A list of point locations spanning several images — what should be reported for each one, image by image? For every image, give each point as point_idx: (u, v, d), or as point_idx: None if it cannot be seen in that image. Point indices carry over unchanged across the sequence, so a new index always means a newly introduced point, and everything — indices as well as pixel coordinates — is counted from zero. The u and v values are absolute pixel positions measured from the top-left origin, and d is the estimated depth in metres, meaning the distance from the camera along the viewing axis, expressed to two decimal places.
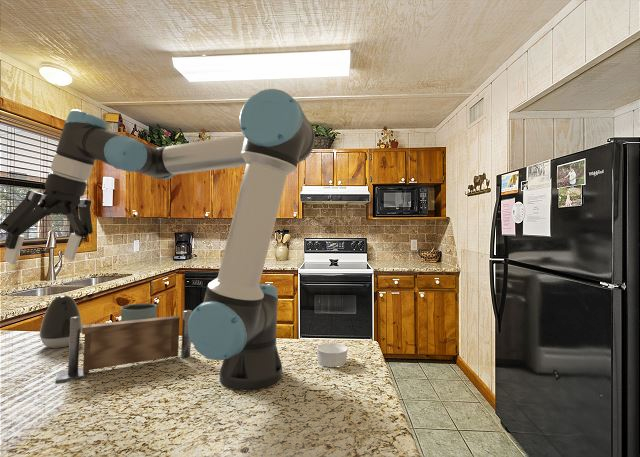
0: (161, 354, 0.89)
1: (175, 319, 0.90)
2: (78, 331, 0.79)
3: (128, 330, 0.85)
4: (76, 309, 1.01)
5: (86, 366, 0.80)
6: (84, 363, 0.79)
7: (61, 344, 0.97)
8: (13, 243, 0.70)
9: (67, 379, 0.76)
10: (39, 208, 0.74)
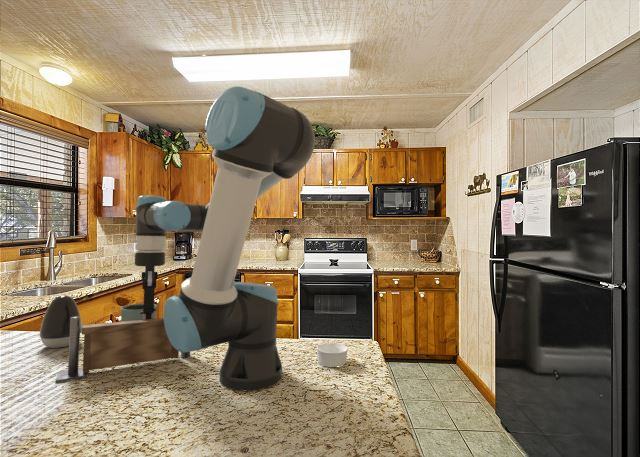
0: (161, 355, 0.88)
1: None
2: (78, 331, 0.79)
3: (128, 331, 0.84)
4: (76, 309, 1.01)
5: (86, 366, 0.79)
6: (84, 363, 0.79)
7: (61, 344, 0.97)
8: None
9: (67, 379, 0.76)
10: None
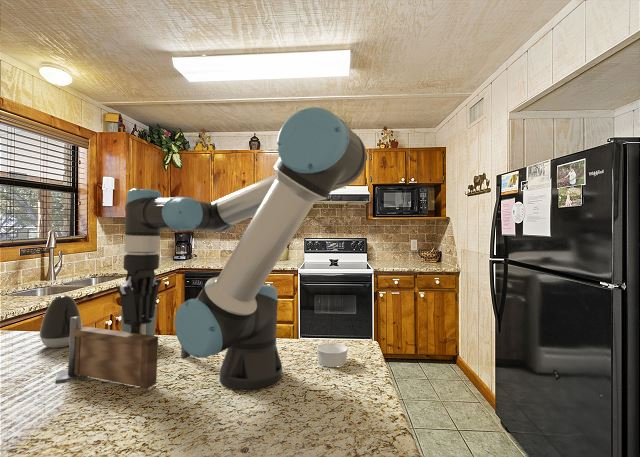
0: (132, 380, 0.73)
1: (144, 341, 0.72)
2: None
3: (106, 342, 0.75)
4: (76, 309, 1.01)
5: (76, 370, 0.77)
6: (75, 366, 0.77)
7: (61, 344, 0.97)
8: (138, 333, 0.77)
9: (67, 379, 0.76)
10: (133, 295, 0.77)
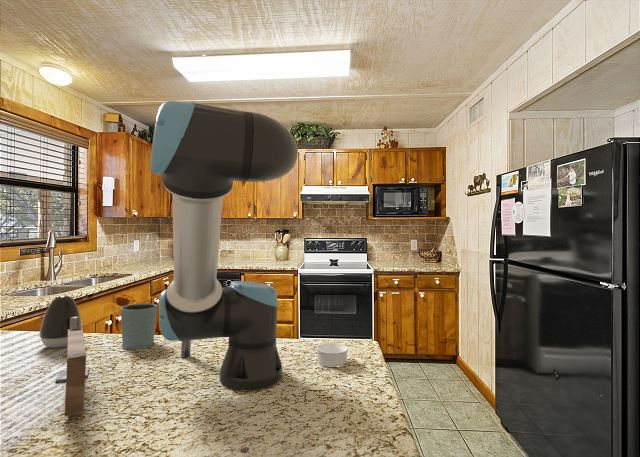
0: None
1: (67, 358, 0.61)
2: None
3: None
4: (76, 309, 1.01)
5: None
6: None
7: (61, 344, 0.97)
8: None
9: None
10: None
